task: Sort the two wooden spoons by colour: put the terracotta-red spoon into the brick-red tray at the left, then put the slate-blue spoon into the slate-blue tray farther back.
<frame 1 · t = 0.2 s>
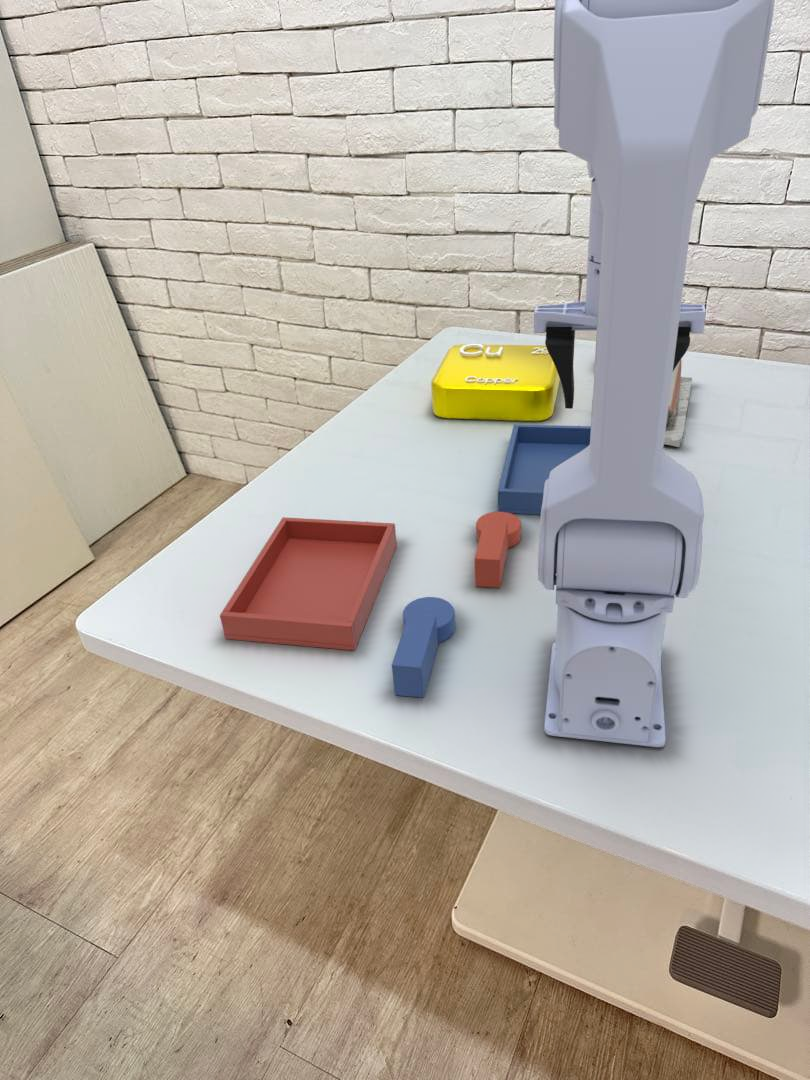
hand: (611, 405, 75), 10 cm above the table, tool pointing down, fingers open, 7 cm apart
red tray: (317, 588, 71), on the table
white cup: (624, 370, 108), on the table
red spoon: (492, 567, 72), on the table
packaged product: (643, 413, 96), on the table
blue spoon: (417, 669, 61), on the table
element tile: (498, 397, 103), on the table
blue tray: (559, 477, 84), on the table
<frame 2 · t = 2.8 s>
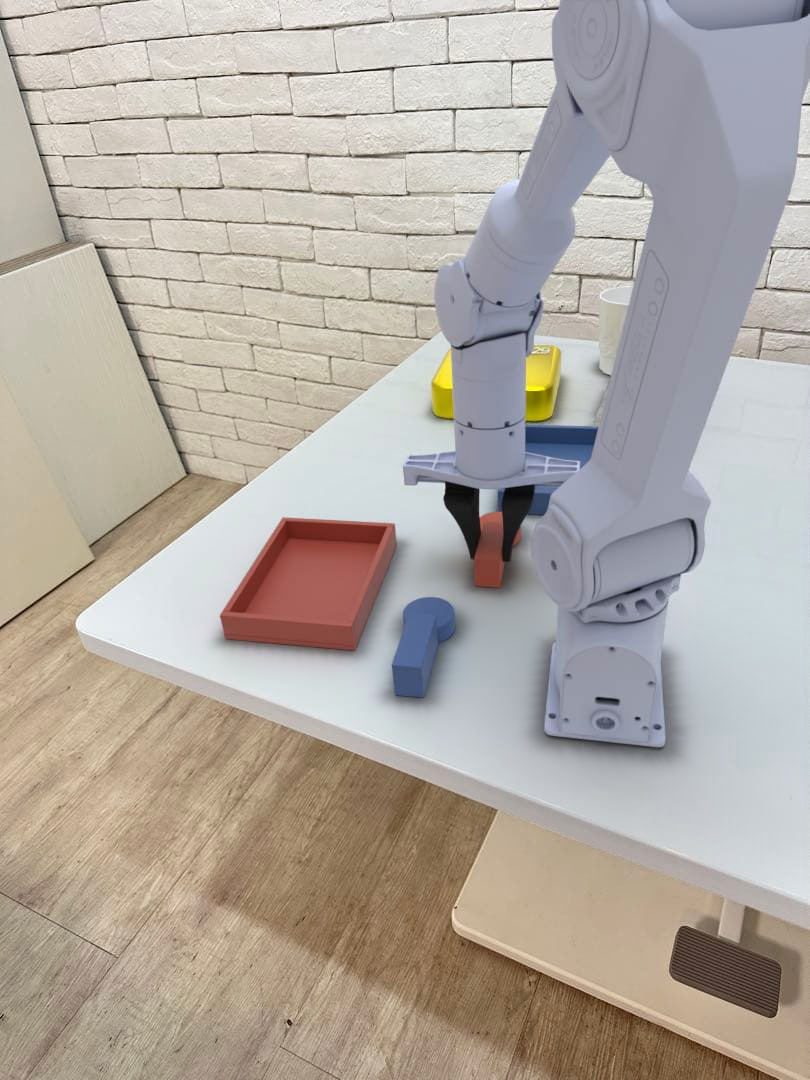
hand: (491, 554, 71), 1 cm above the table, tool pointing down, fingers closed on red spoon, 2 cm apart
red spoon: (491, 567, 72), on the table, touching gripper
everything else where it was.
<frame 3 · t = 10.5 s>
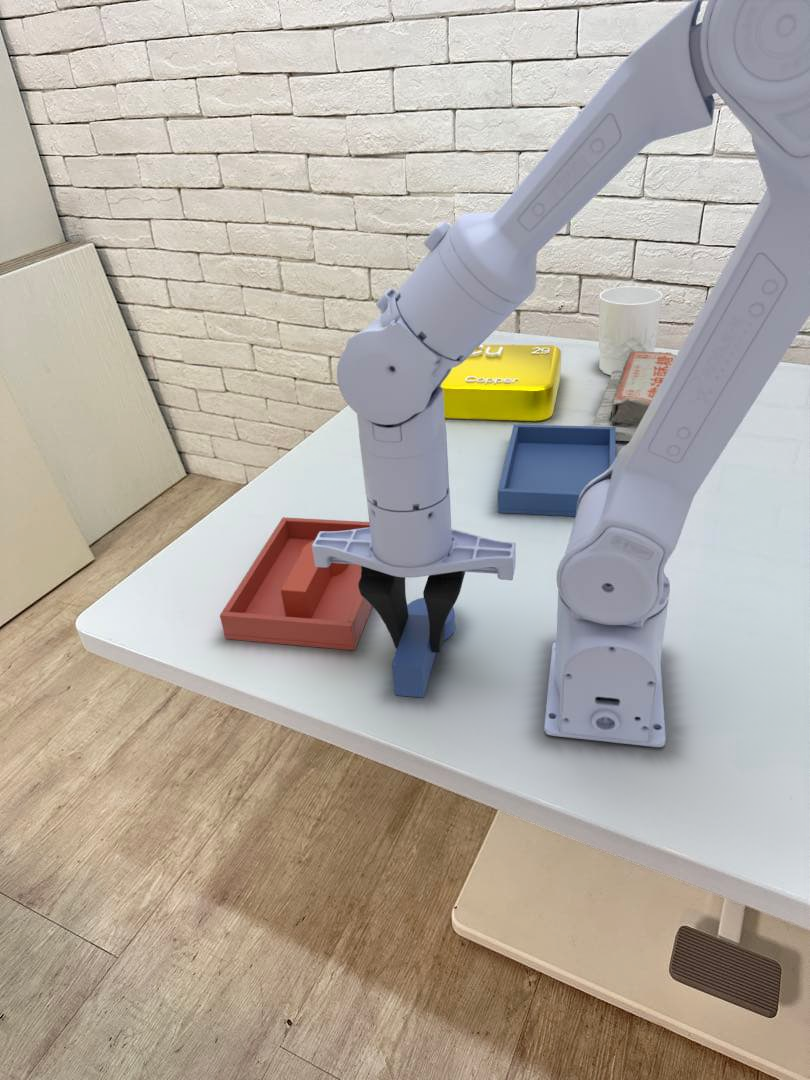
hand: (420, 642, 62), 1 cm above the table, tool pointing down, fingers closed on blue spoon, 2 cm apart
red spoon: (309, 597, 69), resting on red tray
blue spoon: (417, 669, 61), on the table, touching gripper
everything else where it was.
when the fingers open (2 cm above the table, at t = 15.5 s): blue spoon stays where it is, resting on blue tray.
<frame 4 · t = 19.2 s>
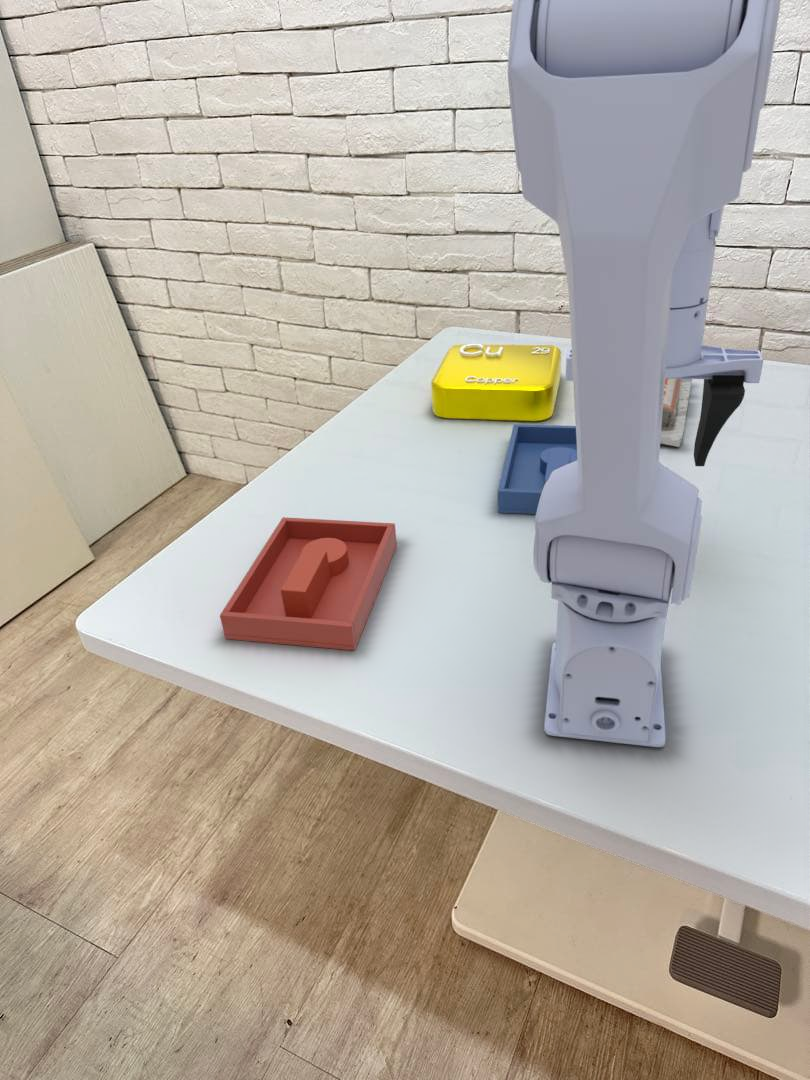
hand: (650, 459, 67), 9 cm above the table, tool pointing down, fingers open, 7 cm apart
blue spoon: (556, 492, 81), resting on blue tray
everything else where it was.
at the end: red spoon inside the target area in the red tray (1.9 cm from its centre), point 0.5 cm above the red tray's base; blue spoon inside the target area in the blue tray (4.0 cm from its centre), point 0.5 cm above the blue tray's base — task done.
